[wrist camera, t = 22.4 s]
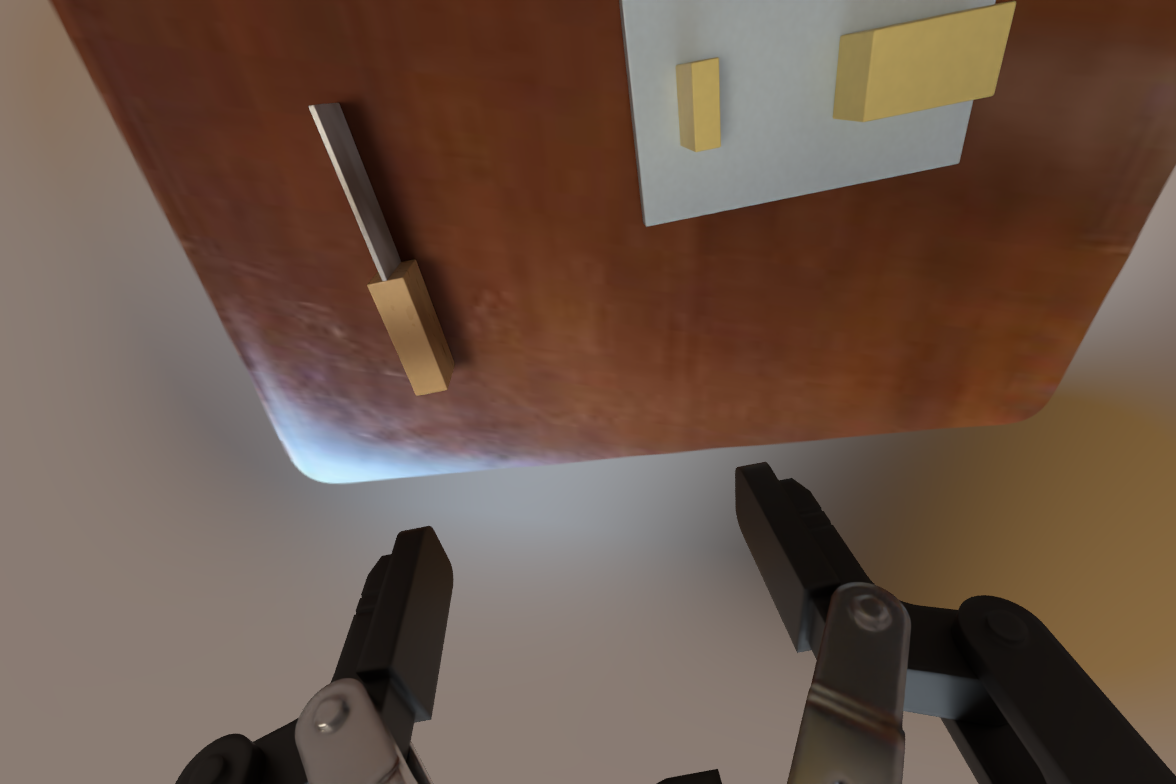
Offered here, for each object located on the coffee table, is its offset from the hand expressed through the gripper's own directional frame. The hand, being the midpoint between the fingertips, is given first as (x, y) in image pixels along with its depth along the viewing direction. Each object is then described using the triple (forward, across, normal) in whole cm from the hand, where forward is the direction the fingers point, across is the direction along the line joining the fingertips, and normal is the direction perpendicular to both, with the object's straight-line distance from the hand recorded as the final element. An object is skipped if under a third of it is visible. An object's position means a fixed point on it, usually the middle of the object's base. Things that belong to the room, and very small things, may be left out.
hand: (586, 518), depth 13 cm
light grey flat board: (+23, -16, -7) cm, 29 cm away
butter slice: (+22, -9, -7) cm, 25 cm away
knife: (+23, +10, -2) cm, 25 cm away
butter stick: (+22, -21, -7) cm, 31 cm away
